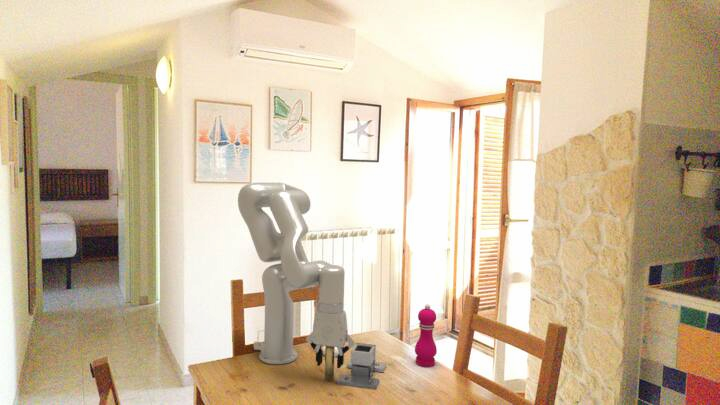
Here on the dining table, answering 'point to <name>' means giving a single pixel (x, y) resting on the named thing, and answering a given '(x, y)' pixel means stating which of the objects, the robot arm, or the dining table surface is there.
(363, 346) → the square tube bracket
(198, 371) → the dining table surface
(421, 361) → the pepper mill
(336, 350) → the garlic bulb
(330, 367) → the hinge pin
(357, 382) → the fixed leaf
